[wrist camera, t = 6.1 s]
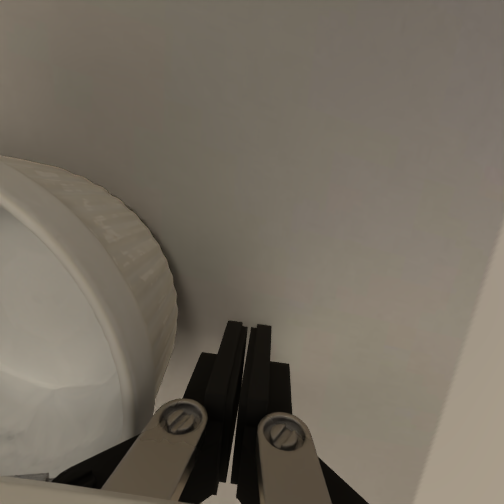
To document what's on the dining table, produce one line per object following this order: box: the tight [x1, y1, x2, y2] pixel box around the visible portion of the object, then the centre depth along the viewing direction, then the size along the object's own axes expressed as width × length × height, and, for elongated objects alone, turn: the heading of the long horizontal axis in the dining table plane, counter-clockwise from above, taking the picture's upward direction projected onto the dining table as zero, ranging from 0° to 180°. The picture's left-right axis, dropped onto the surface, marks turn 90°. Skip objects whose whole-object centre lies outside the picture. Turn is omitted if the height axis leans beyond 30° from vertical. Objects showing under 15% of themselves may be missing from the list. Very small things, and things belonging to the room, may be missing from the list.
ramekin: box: [0, 155, 178, 478], centre depth 12 cm, size 13×13×7 cm
